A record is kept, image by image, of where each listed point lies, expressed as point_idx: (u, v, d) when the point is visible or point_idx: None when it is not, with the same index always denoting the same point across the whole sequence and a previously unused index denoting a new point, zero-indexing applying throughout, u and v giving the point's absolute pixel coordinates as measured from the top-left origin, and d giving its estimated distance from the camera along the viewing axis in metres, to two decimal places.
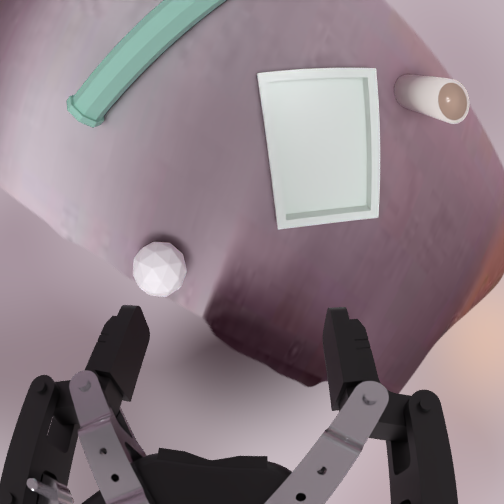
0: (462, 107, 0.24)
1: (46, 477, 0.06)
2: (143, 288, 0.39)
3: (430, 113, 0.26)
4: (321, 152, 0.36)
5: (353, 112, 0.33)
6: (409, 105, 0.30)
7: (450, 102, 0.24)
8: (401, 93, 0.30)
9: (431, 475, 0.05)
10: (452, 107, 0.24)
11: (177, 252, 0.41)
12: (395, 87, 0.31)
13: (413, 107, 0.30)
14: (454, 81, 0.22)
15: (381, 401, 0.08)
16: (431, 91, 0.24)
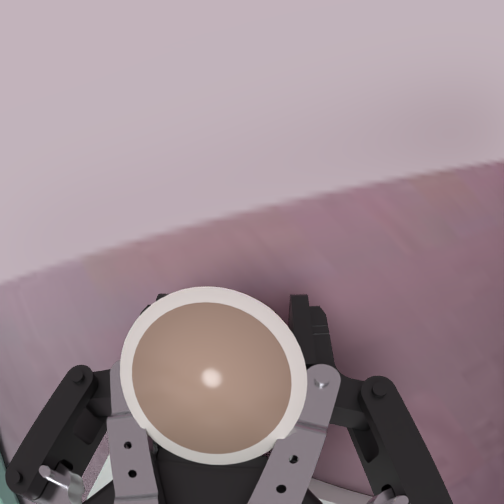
0: (253, 350, 0.07)
1: (61, 466, 0.06)
2: None
3: None
4: None
5: None
6: None
7: (206, 398, 0.07)
8: None
9: (404, 457, 0.06)
10: (232, 397, 0.07)
11: None
12: None
13: None
14: (140, 326, 0.08)
15: (332, 384, 0.09)
16: None
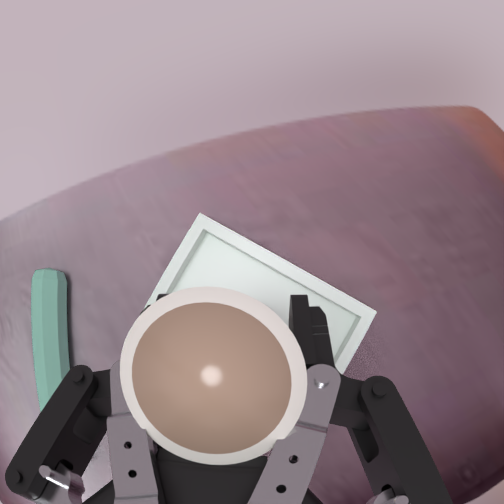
0: (253, 350, 0.07)
1: (62, 466, 0.06)
2: None
3: None
4: None
5: (237, 267, 0.31)
6: None
7: (206, 398, 0.07)
8: None
9: (404, 457, 0.06)
10: (233, 397, 0.07)
11: None
12: None
13: None
14: (140, 326, 0.08)
15: (332, 384, 0.09)
16: None
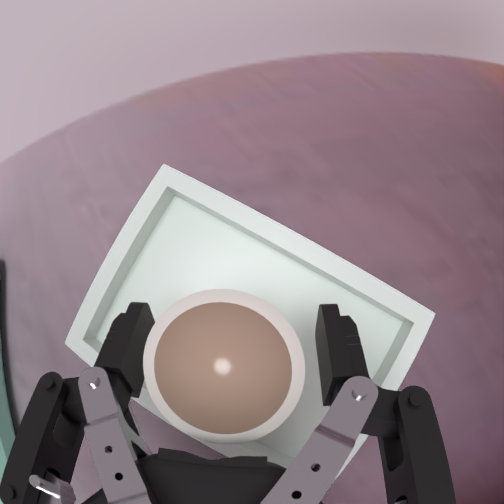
0: (260, 342, 0.09)
1: (49, 474, 0.06)
2: None
3: None
4: None
5: (219, 247, 0.20)
6: None
7: (219, 384, 0.09)
8: None
9: (425, 470, 0.06)
10: (242, 383, 0.09)
11: None
12: None
13: None
14: (162, 323, 0.09)
15: (370, 396, 0.08)
16: None
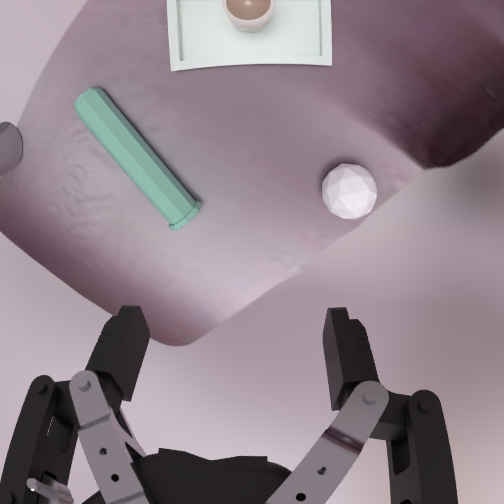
0: None
1: (46, 477, 0.06)
2: (357, 214, 0.38)
3: (268, 17, 0.24)
4: None
5: None
6: (265, 24, 0.28)
7: (250, 4, 0.21)
8: (253, 30, 0.29)
9: (431, 475, 0.05)
10: (256, 1, 0.21)
11: (337, 167, 0.39)
12: (248, 32, 0.30)
13: (266, 22, 0.27)
14: (223, 1, 0.21)
15: (381, 401, 0.08)
16: (243, 24, 0.23)
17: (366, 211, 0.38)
